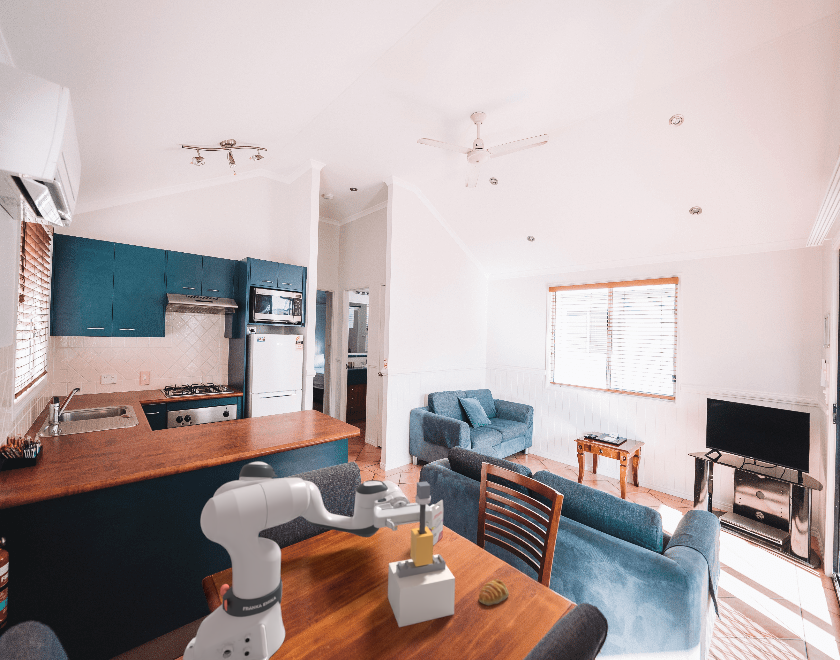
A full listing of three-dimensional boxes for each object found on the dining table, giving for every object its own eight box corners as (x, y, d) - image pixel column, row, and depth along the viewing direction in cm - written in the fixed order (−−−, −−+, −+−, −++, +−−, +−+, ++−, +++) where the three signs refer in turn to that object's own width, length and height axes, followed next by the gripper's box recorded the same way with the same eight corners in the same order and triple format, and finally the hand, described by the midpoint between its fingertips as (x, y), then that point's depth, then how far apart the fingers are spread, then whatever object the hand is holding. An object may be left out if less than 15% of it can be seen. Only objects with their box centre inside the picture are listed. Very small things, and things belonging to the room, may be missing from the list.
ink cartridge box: (432, 533, 148) (433, 495, 148) (443, 537, 145) (444, 499, 145) (420, 543, 141) (421, 503, 141) (431, 547, 138) (432, 507, 138)
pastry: (491, 612, 107) (491, 598, 107) (472, 599, 112) (473, 586, 112) (510, 597, 113) (510, 584, 113) (492, 586, 118) (492, 573, 118)
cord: (416, 576, 105) (418, 487, 106) (411, 567, 110) (413, 481, 110) (430, 573, 107) (433, 486, 107) (425, 564, 111) (427, 480, 111)
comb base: (399, 627, 100) (400, 579, 100) (387, 597, 111) (389, 554, 111) (454, 614, 105) (455, 568, 105) (437, 586, 116) (439, 545, 117)
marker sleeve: (415, 566, 105) (416, 537, 105) (410, 556, 110) (411, 528, 110) (432, 563, 107) (433, 535, 107) (426, 553, 111) (427, 526, 112)
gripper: (424, 512, 136) (439, 531, 123) (369, 519, 129) (378, 541, 116) (425, 494, 136) (440, 512, 123) (369, 501, 129) (379, 520, 116)
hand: (409, 526), depth 119 cm, fingers open, 8 cm apart
